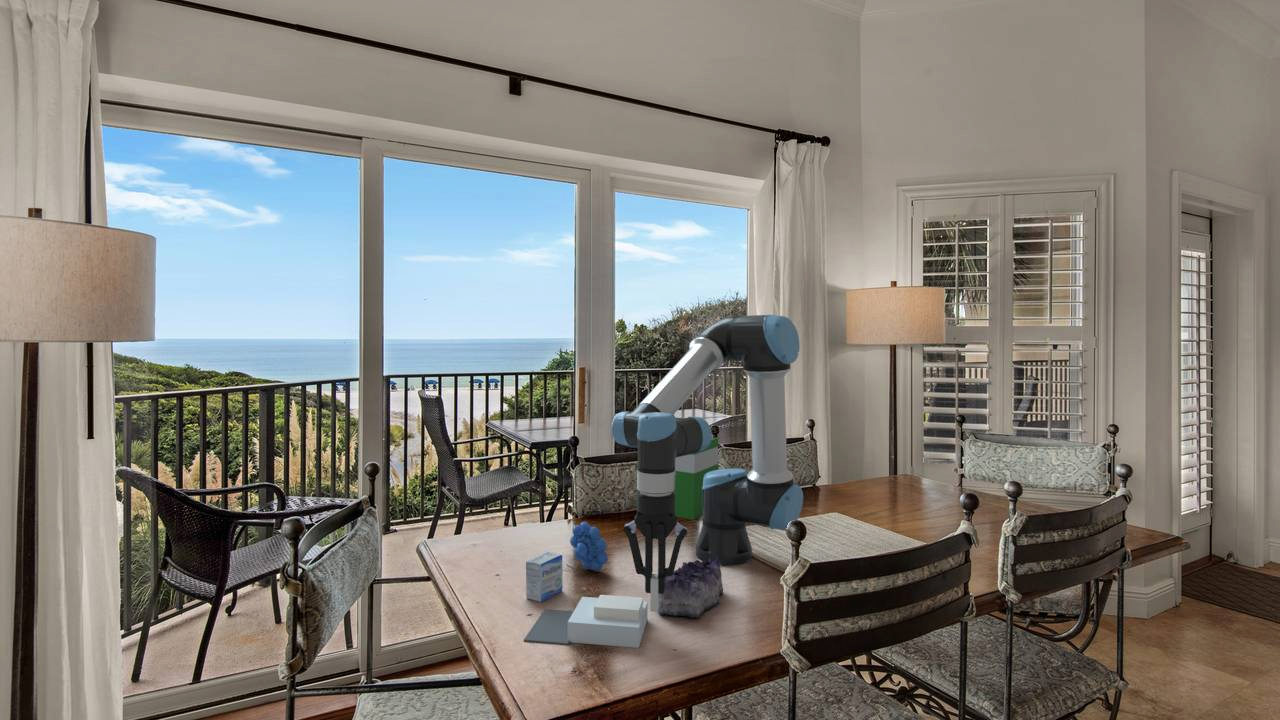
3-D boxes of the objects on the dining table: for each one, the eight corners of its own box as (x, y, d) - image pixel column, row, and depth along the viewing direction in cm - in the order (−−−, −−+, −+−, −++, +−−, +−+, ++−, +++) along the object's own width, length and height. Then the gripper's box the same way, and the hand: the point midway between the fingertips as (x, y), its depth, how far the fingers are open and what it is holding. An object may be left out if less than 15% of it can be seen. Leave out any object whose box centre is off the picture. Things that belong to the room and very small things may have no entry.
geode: (688, 583, 156) (694, 543, 155) (732, 600, 150) (738, 559, 149) (644, 610, 139) (651, 565, 138) (691, 631, 132) (699, 584, 132)
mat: (585, 613, 138) (585, 612, 138) (568, 644, 124) (568, 643, 124) (544, 610, 140) (544, 608, 140) (523, 641, 126) (523, 639, 126)
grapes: (559, 569, 163) (559, 522, 163) (576, 561, 169) (576, 516, 168) (596, 579, 157) (596, 531, 156) (612, 571, 162) (613, 524, 162)
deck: (647, 620, 135) (647, 601, 135) (638, 647, 123) (639, 627, 123) (582, 615, 137) (582, 596, 137) (567, 642, 126) (567, 622, 125)
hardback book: (697, 503, 226) (698, 435, 225) (717, 507, 222) (718, 437, 221) (673, 516, 211) (674, 443, 210) (693, 519, 207) (694, 445, 206)
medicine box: (540, 603, 143) (540, 564, 143) (525, 598, 146) (525, 560, 145) (563, 591, 150) (563, 554, 150) (548, 586, 152) (548, 550, 152)
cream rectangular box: (643, 607, 132) (643, 597, 132) (638, 620, 126) (638, 610, 126) (600, 604, 134) (600, 594, 133) (593, 616, 128) (593, 606, 128)
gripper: (690, 488, 130) (688, 603, 132) (626, 485, 132) (625, 598, 133) (687, 497, 123) (686, 619, 124) (620, 494, 125) (619, 614, 126)
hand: (654, 608), depth 129 cm, fingers closed
